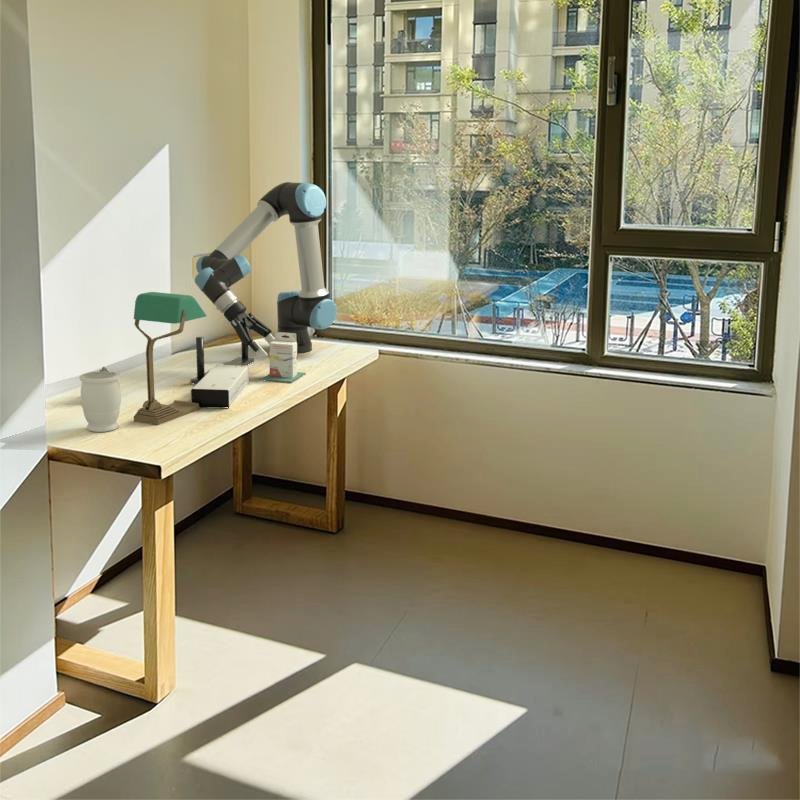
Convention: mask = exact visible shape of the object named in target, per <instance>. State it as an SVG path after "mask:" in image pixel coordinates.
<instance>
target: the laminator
mask: <svg viewBox="0 0 800 800" xmlns="http://www.w3.org/2000/svg"><path fill="white" fill-rule="evenodd" d="M208 371H209V372H208ZM208 371H207V372H208V373H207V374H206V375H205V376H204V377H203V378H202V379H201V380H200V381H199V382H198V383H197V384H194V385H195V386H193V387H192V388H191V390H190V393H191V394H190V395H191V396H190V397H191V402H192V403H199V408H207V407H228V408H227V409H230V408H231V407H232V406H231V404H232V403H233V402H234V400H235V399H236V398H237V396H238V395H239V394H240V393H241V394H242V392H243V391H244V390H245V389H244V388H246V387H247V386H248V385H249V384H250V365H247V366H244V365H223V364H215V365H214V366H213V367H212V368H211V369H210V370H208ZM247 384H248V385H247ZM246 385H247V386H246ZM245 386H246V387H245ZM243 389H244V390H243ZM242 390H243V391H242ZM241 391H242V392H241ZM241 394H240V395H241ZM240 395H239V396H240ZM239 396H238V397H239ZM237 399H238V398H237ZM237 399H236V400H237ZM236 400H235V401H236ZM234 403H235V402H234ZM234 403H233V404H234ZM233 404H232V405H233ZM230 406H231V407H230ZM229 407H230V408H229Z"/></svg>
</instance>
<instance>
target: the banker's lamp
mask: <svg viewBox="0 0 800 800" xmlns="http://www.w3.org/2000/svg"><path fill="white" fill-rule="evenodd" d="M134 301H135V302H134V309H133V311H134V312H133V320H134V326H135V328H136V329H137V330H138V331H139V332H140V333H141V334H142V335H143V336H144V337H145V338H146V339H147V341H146V346H145V347H146V348H145V359H146V360H145V361H146V381H147V383H146V384H147V400H145V401H144V402H143V404H142V407H141V408H139V409H137V412H135V414H134V415H133V422H135V423H136V422H137V423H141V424H142V423H143V424H149V425H155V426H161V425H163V424H166V423H168V422H170V421H173V420H175V419H178V418H180V417H183V416H186V415H188V414H190V413H193V412H196V411H199V410H200V407H199V403H192V401H185V400H184V401H183V400H176V399H174V400H173V402H172V403H169V404H162V403H161V402H159V401H158V400H157V399H155V398H156V397H155V374H154V373H155V372H154V345H155V342H157V341H158V340H161V339H162V340H163V339H165V338H169V337H172V336H176V335H180V334H181V333H183V331H184V327H185V323H186V322H189V321H194V320H197V319H201V318H206V317H207V316H208V315H207V314H206V312H205V310H203V308H202V307H201V305H200V304H199V303H198V300H197V299H196V298H195V297H193V296H192V295H187V294H177V293H170V292H169V293H168V292H158V291H157V292H155V291H149V292H148V291H147V292H143V293H139V294H138V295H137V296H136V298H135V300H134ZM140 321H147V322H156V323H157V322H158V323H166V324H172V325H173V324H174V325H175V324H179V327H178V329H176V330H175V331H172V332H169V333H165V334H163V335H159V336H156V337H154V338H152V337H150V336H149V334H147V333H145V331H143V330H142V329H141V328H140V326H139V325H140Z"/></svg>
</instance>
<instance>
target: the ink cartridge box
mask: <svg viewBox="0 0 800 800" xmlns="http://www.w3.org/2000/svg"><path fill="white" fill-rule="evenodd" d="M284 335H286V336H289V338H283V337H281V336H284ZM273 337H274V338H275V340H274V341H272V342H270V345H269V374H270V376H275V377H286V378H293V377H295V376H296V375H297V372H298V353H297V341H296V334H295V333H283V332H277V331H274V333H273Z"/></svg>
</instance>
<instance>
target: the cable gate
mask: <svg viewBox="0 0 800 800" xmlns="http://www.w3.org/2000/svg"><path fill="white" fill-rule="evenodd" d="M244 341H245V340H244ZM240 342H241V341H240ZM195 345H196V346H195V347H196V348H195V349H196V352H195V353H196V376H195V377H193V378H191V379H190V384H191V383H194V384H193V385H196V384H197V383H198V382H199V381H200V380H201V379H202V378H203V377H204V376H205V375H206V374H207V373H208V372H209V371H210V370H208V371H206V372H205V343H204V336H197V337H195ZM240 346H241V356H238V357H236V358H234V359H231V360H230V361H228V362H225V363H222V365H244V366H246V365H247V366H249V365H251V364H253V363H255V358H254V357H249V346H248V347H245V345H243V343H242V342H241V345H240ZM252 362H253V363H252ZM250 363H251V364H250ZM248 364H249V365H248Z"/></svg>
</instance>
